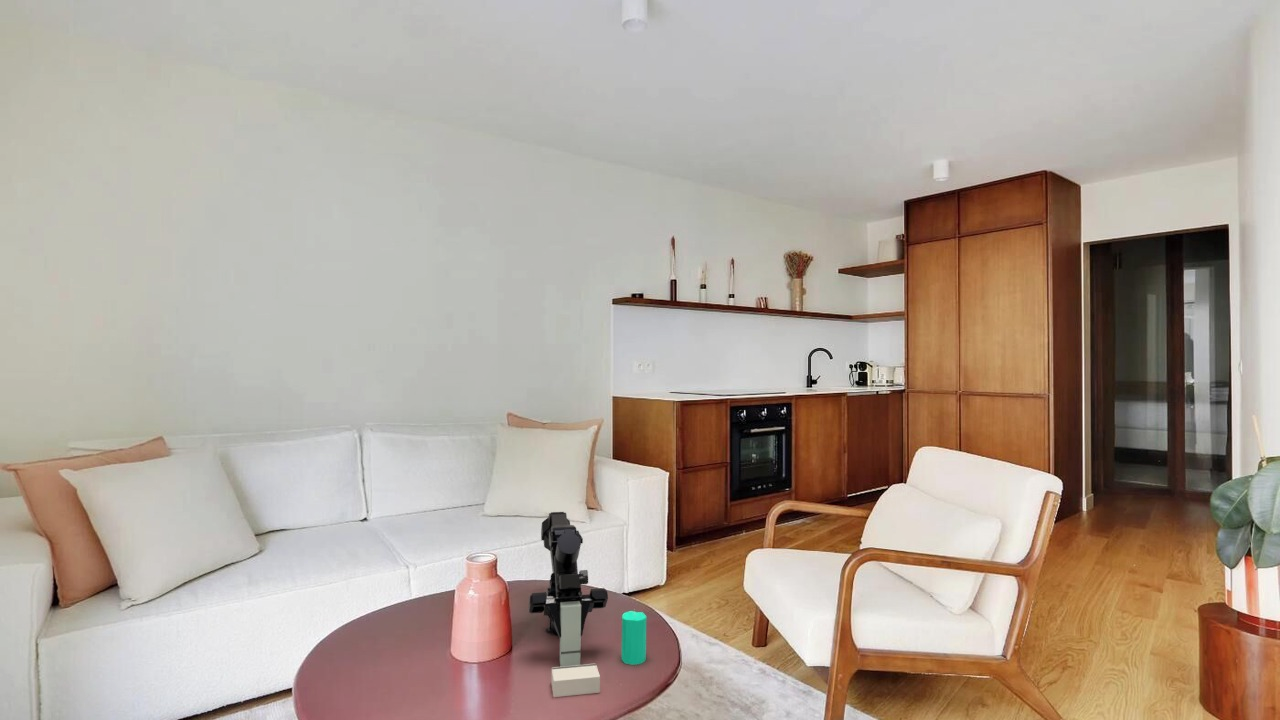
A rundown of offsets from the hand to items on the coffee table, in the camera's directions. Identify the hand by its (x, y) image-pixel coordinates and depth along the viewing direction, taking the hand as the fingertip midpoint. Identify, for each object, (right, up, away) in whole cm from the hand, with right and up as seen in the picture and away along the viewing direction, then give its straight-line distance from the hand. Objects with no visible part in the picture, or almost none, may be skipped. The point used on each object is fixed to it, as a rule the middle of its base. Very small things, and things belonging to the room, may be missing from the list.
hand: (570, 636), depth 152 cm
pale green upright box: (0, -7, +2) cm, 7 cm away
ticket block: (+2, -8, -9) cm, 12 cm away
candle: (+15, -8, +5) cm, 17 cm away
